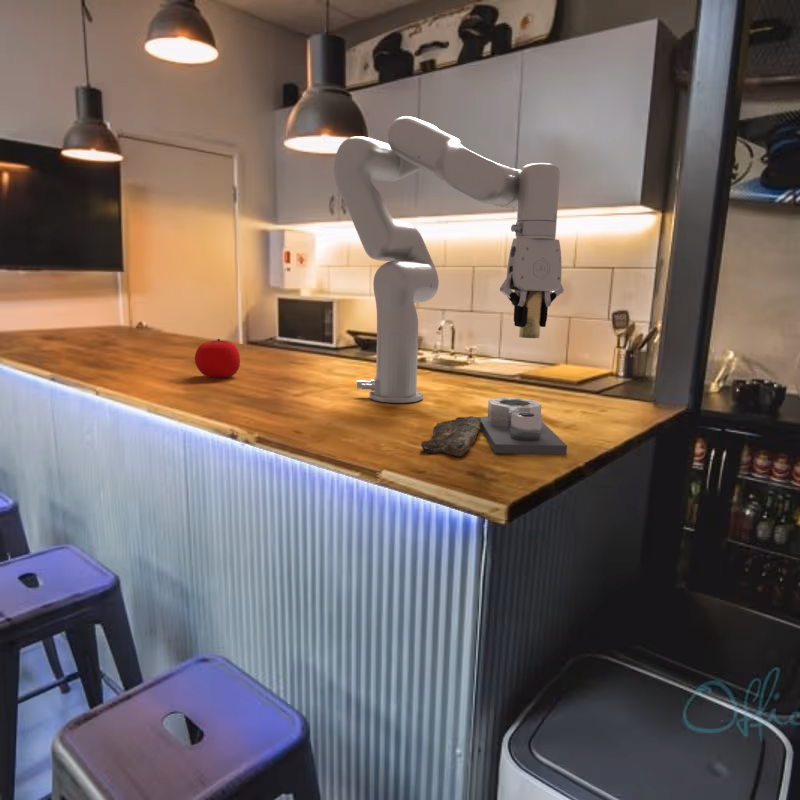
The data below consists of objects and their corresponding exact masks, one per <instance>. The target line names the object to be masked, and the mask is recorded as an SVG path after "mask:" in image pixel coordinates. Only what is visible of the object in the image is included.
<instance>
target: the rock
mask: <svg viewBox="0 0 800 800" xmlns="http://www.w3.org/2000/svg"><path fill="white" fill-rule="evenodd" d="M479 417H480V416H473V415H469V416H459V417H456V418H454V419H451V420H446V421H445V420H443V421H441V422H437V423H436V425H435V426H434V427H433V429H432V436H431V438H430V440H425V441H422V442H421V445H420V446H421V448H422V451H423V453H424V454H435V453H436V454H441V453H444V454H447V455H449V456H450V455H451V456H454V457H457V458H458V457H461V456H463V455H464V454H465V453H467V452H468V451H470V446H472V445H473V444H474V442H475V441H476V437H477V435H478V433H479V430H480V427H479V426H480V423H481V418H479Z"/></svg>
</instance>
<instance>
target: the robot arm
mask: <svg viewBox="0 0 800 800" xmlns="http://www.w3.org/2000/svg"><path fill="white" fill-rule="evenodd" d="M386 137H387V142H385V141H381V140H377V139H375V138H371V137H367V136H361V135H360V136H350V137H349V138H346V139H345V140H343V142H342V143H340V145H339V147H338V148H337V151H336V154H335V157H334V162H333V175H334V180H335V184H336V187H337V190H338V193H339V194H340V197H341V198H342V200H343V203H344V205H345V206H346V208H347V210H348V213H349V215H350V218H351V221H352V223H353V225H354V226H353V227H354V228H355V231H356V232H357V235H358V238H359V240H360V242H361V245H362V247H363V249H364V251H365V253H366V254H367V255H368V257H369V258H371V259H373V260H375V261H381V262H383V261H384V262H385V263H383V264H381V265H380V266H379V267H378V269H377V270H376V271H375V273H374V276H373V284H372V285H373V294H374V299H375V305H376V307H375V308H376V364H375V365H376V369H375V371H376V375H375V376H374V379H370V380H359V379H358V380H356V389H361V390H370V392H369V395H368V396H369V399H371V400H373V401H376V402H382V403H390V404H392V403H393V404H405V403H406V404H407V403H416V402H419V401H422V400H423V399H424V394H423V393H422V392H420V391H418V390H417V386H418V385H417V383H418V382H417V379H418V349H419V318H418V317H419V316H418V313H417V309H416V306H415V303H417V304H418V303H424V302H427V301H429V300H432V298H434V297H435V295H437V291H438V289H439V285H440V284H439V281H440V280H439V274H438V272H437V269H436V266H435V264H434V261H433V259H432V258H431V255H430V252H429V250H428V247H427V246H426V244H425V241H424V239H423V237H422V235H421V232H420V231H419V230H418V229H417V228H416V226H415V225H413V224H411V223H410V222H409V221H408V222H407V221H405V220H400V219H399V220H398V219H395V218H393V216H392V214H391V213H390V211H389V209H388V207H387V204H386V202H385V199H384V197H383V196H382V194H381V192H380V190H378V188H377V187H376V186H375V184H374V183H373V182H372V180H374V181H379V182H382V183H383V182H384V183H393V182H396V181H399V180H401V179H404V178H406V177H407V176H410V175H412V174H415V173H417V172H419V171H421V170H423V171H426V172H427V173H429V174H431V175H432V176H435V177H436V178H438V179H439V180H440V181H441V182H444V183H445V184H447V185H448V186H450V187H452V188H453V189H455V190H456V191H459V192H461V193H463V194H464V195H466V196H468V197H470V198H471V199H474V200H476V201H478V202H480V203H484V204H488V205H493V206H496V207H500V208H509V209H511V208H515V207H517V212H516V213H517V214H516V215H517V216H516V224H512V225H511V226H510V230H511V232H514V233H515V238H513V240H512V243H511V246H510V250H509V255H508V260H507V261H508V262H507V268H506V269H507V270H506V278H505V280H504V281H503V283H502V284H501V286H500V288H499V291H500V292H501V293H502V294H503V295H504V296H505V297H507V298H508V301H510V302H511V305H512V306H514V307H513V308H514V309H513V322H514V323H513V324H514V326H515V327H517V328H518V327H519V328H520V327H525V325H526V309H527V308H526V307H524V303H525V298H526V294H527V291H543V293H542V307H541V322H540V328H541V327H542V328H545V327H546V326H547V321H548V309H549V307H550V306H551V305H552V303H553V301H554V300H555V299H556V298H557V297H559V296H560V295H561V294H563V293H564V291H565V290H564V287H563V285H562V269H563V268H562V249H561V245H560V244H561V243H560V239H556V235H557V219H558V207H559V206H558V205H559V194H560V192H559V191H560V190H559V189H560V180H561V177H560V176H561V172H560V169H559V167H558V166H557V165H556V164H552V163H548V162H547V163H546V162H538V163H537V162H536V163H529V164H526V165H524V166H522V168H521V169H517V168H514V167H510V166H507V165H505V164H501V163H498V162H495V161H494V160H491V159H489V158H486V157H484V156H482V155H480V154H478V153H476V152H474V151H473V150H469V148H466V147H465V146H464V145H463V143H462V141H461V139H459V138H458V137H455V136H454V135H452V134H449V133H447V132H445V131H443V130H441V129H439V128H438V127H437V126H436V125H434V124H432V123H430V122H427V121H425V120H422V119H419V118H417V117H413V116H410V115H409V116H407V115H406V116H405V115H404V116H401V117H398V118H396V119H395V120H393V121H392V122H391V124H390V125H389V127H388V130H387V133H386Z"/></svg>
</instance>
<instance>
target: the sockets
mask: <svg viewBox="0 0 800 800" xmlns="http://www.w3.org/2000/svg"><path fill="white" fill-rule="evenodd" d="M487 404H488V406H487V417H488V422H489V423H490V425H493V426H497V427H502V428H506V429H510V437H511V438H512V439H515V440H519V441H538V440H540V436H541V423H542V422H543V420H542V419H543V415H542V413H541V411H542V404H541V403H540V402H538V401H537V400H533V399H527V398H521V397H497V398H492V399H488V403H487Z"/></svg>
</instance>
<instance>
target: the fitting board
mask: <svg viewBox="0 0 800 800" xmlns="http://www.w3.org/2000/svg"><path fill="white" fill-rule="evenodd" d="M478 417H479V418H481V423H480V426H479V429H480V430H481V432H482V433H483V435H484V436H485V439H486V440H487V442H488V444H489V445H490V447H491V449H492V451H493V452H494V453H495V454H527V455H528V454H531V455H532V454H533V455H537V454H539V455H567V451H568V445H567V444H566V443H565V442H564V441H563V440H562V439H561V438H560V437H559V436H558V435H557V434H556V433H555V432H554V431H552V429H551V428H550V427H549V426H547V424H546V423H545V422H543V421H542V423H541V436H540V440H538V441H519V440H515V439H512V438H511V437H510V429H506V428H502V427H497V426H493V425H490V423H489V422H488V416H478Z"/></svg>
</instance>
